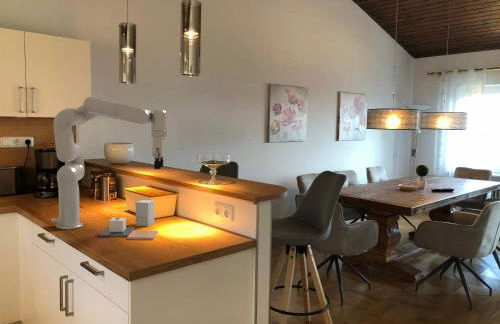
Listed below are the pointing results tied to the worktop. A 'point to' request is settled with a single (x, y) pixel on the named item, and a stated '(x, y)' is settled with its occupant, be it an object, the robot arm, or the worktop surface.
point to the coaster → (142, 235)
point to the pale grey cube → (117, 224)
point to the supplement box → (144, 213)
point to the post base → (116, 234)
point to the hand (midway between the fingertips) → (158, 167)
